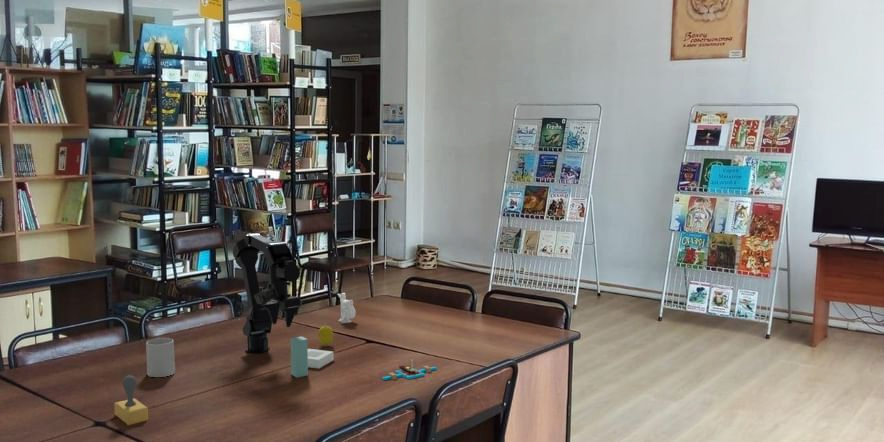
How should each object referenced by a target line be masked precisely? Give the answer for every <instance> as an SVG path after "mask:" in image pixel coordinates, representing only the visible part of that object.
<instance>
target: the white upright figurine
mask: <svg viewBox="0 0 884 442" xmlns="http://www.w3.org/2000/svg"><path fill="white" fill-rule="evenodd" d="M337 296H338V298H339V299H340V300H339V303H340V318H339V319H338V322H339V323H341V324H350V323H352V322H353V321H352V319H354V318H355V317H356V313H357V311H356V308H355V307H354V300H352V299H350V300H349V299H347V298H346V292H342V293H337Z"/></svg>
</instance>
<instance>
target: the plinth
mask: <svg viewBox="0 0 884 442" xmlns="http://www.w3.org/2000/svg"><path fill="white" fill-rule="evenodd" d="M307 350H308V368H312V369H321V368H323V367H324V366H327V365H328V364H329V363H331V362H333V361H334V351H330V350H323V349H315V348H314V349H313V348H307Z"/></svg>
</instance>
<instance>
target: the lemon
mask: <svg viewBox="0 0 884 442" xmlns="http://www.w3.org/2000/svg"><path fill="white" fill-rule="evenodd" d="M317 334H318V335H317V337H318V338H317V340H318V341H319V343H320V344H321V345H323V346H324V347H327V346H329V345H330V344H331V343H332V342H333V340H334V331H333V329H332V328H331V326H330V325H329V326H328V325H327V324H324V325H323V326H322V327H320V328H319V329H318V332H317Z"/></svg>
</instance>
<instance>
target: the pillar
mask: <svg viewBox="0 0 884 442" xmlns="http://www.w3.org/2000/svg"><path fill="white" fill-rule="evenodd" d="M289 341H290V374H291V376H293V377H295V378H301V377H307V376H309V367H308V350H307V349H308V338H306V337H304V336H297V337H290V340H289Z"/></svg>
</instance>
